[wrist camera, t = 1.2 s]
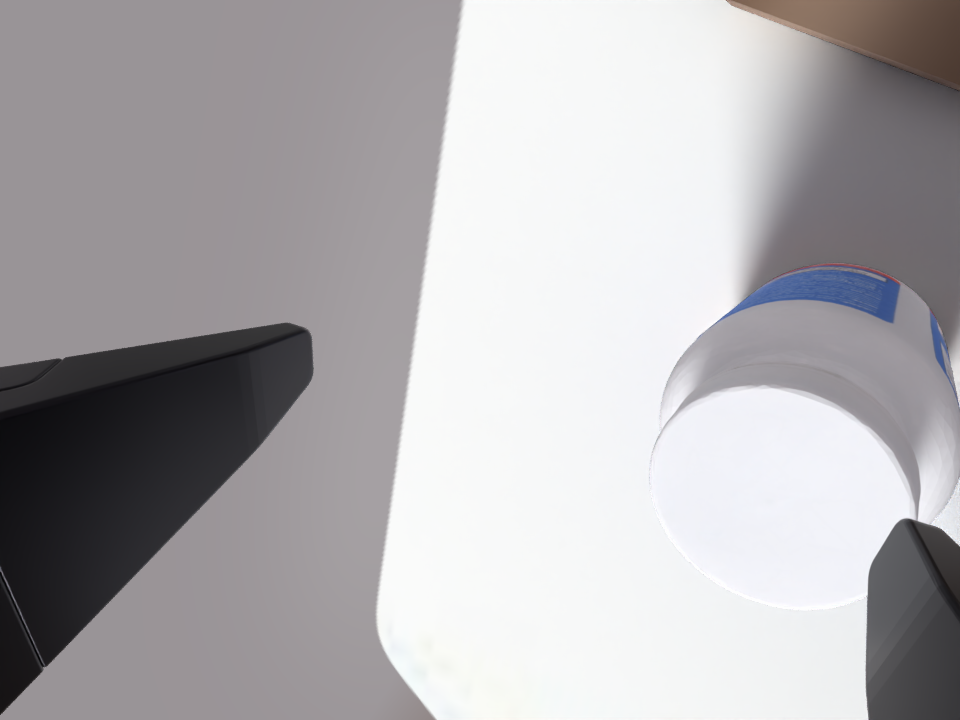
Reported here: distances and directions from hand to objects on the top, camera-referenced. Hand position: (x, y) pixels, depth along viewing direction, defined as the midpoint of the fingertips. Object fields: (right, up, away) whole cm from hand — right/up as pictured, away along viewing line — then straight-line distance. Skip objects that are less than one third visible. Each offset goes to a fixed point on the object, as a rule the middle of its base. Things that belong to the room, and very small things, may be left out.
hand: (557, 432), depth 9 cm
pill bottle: (+9, +1, +9) cm, 13 cm away
